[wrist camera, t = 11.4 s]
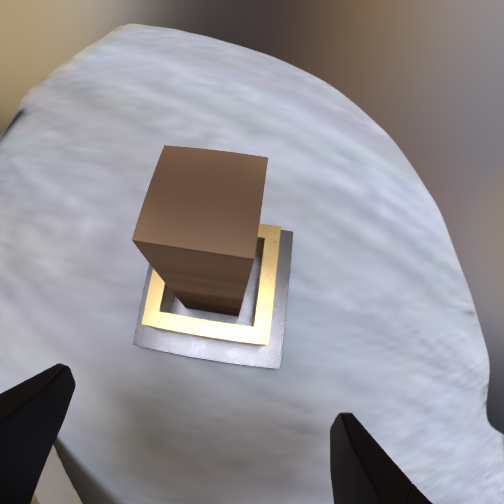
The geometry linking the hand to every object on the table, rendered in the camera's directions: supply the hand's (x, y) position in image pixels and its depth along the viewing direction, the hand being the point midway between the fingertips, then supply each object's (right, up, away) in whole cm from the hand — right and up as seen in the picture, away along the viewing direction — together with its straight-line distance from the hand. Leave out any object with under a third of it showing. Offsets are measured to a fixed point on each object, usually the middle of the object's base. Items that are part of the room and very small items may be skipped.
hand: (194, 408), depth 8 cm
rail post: (-1, +2, +14) cm, 14 cm away
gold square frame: (-1, +2, +15) cm, 15 cm away
